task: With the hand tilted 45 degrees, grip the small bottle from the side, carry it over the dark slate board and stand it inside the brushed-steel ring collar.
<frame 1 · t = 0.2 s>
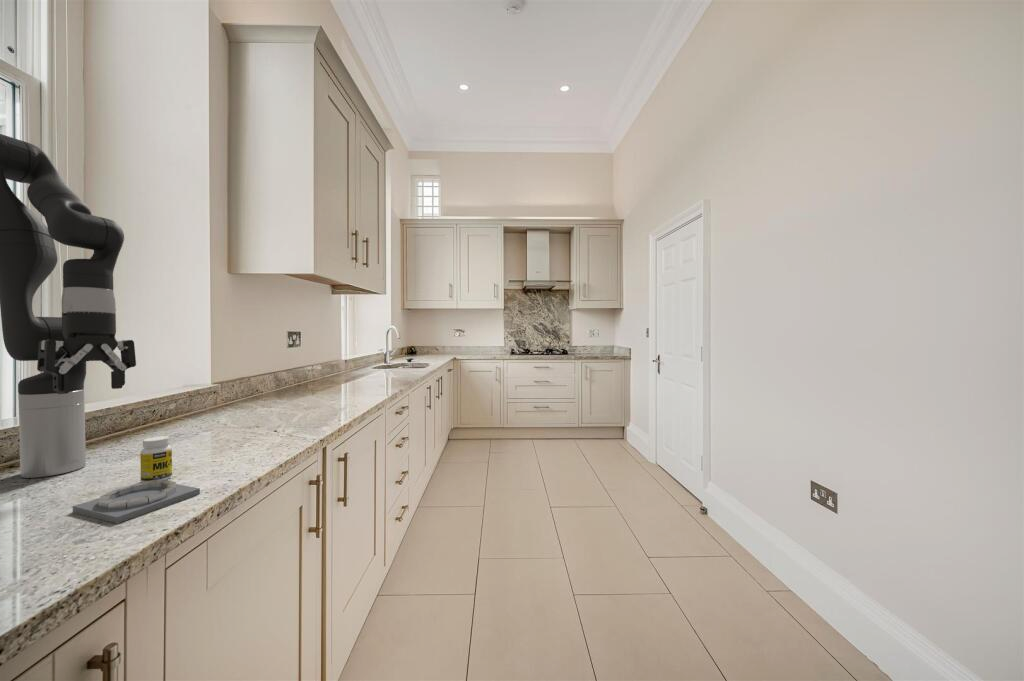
hand: (91, 391, 80), 18 cm above the countertop, tool pointing down, fingers open, 8 cm apart
slate board: (139, 502, 69), on the countertop
supplement bottle: (156, 480, 80), on the countertop
ring collar: (139, 493, 69), on the slate board, point 1 cm above the countertop
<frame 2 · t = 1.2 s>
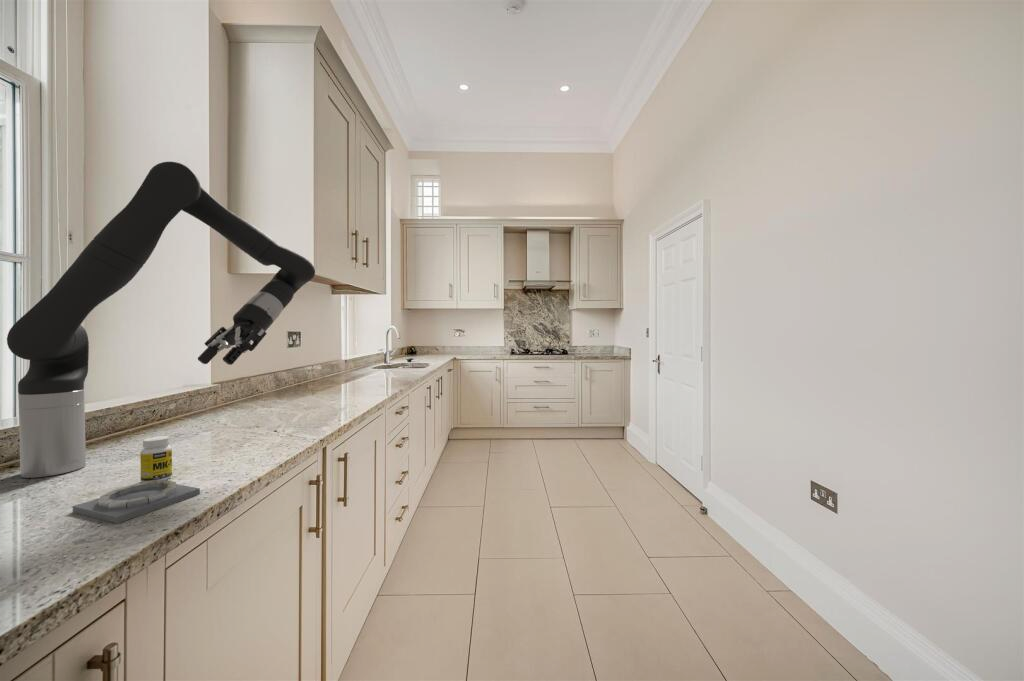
hand: (213, 362, 90), 23 cm above the countertop, tool tilted 45°, fingers open, 8 cm apart
nothing on the countertop moved.
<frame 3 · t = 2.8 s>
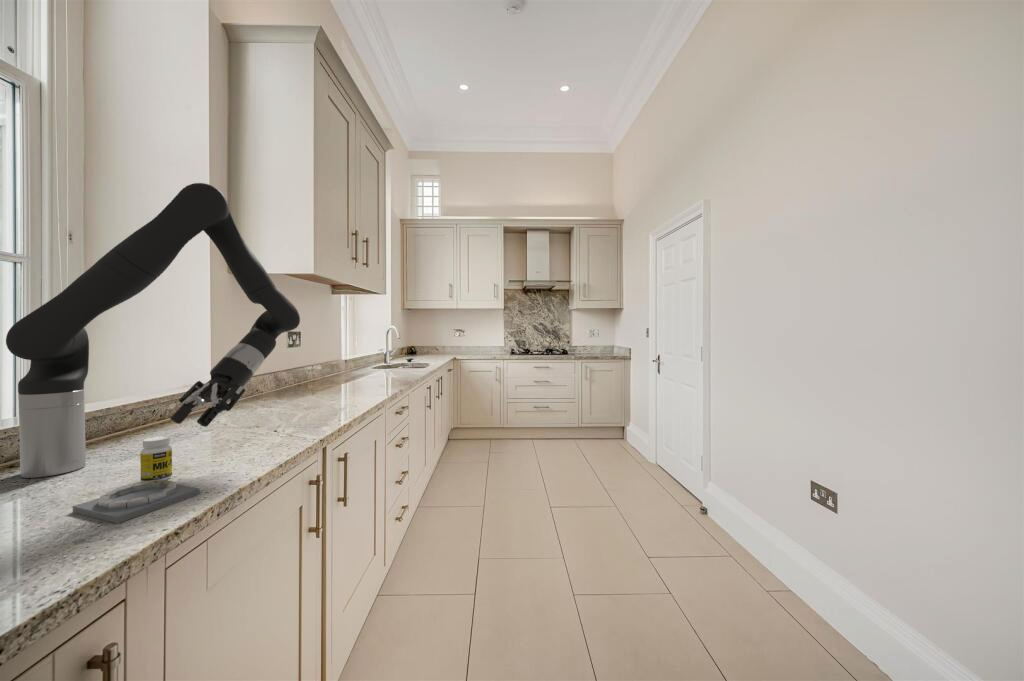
hand: (187, 423, 85), 10 cm above the countertop, tool tilted 45°, fingers open, 8 cm apart
nothing on the countertop moved.
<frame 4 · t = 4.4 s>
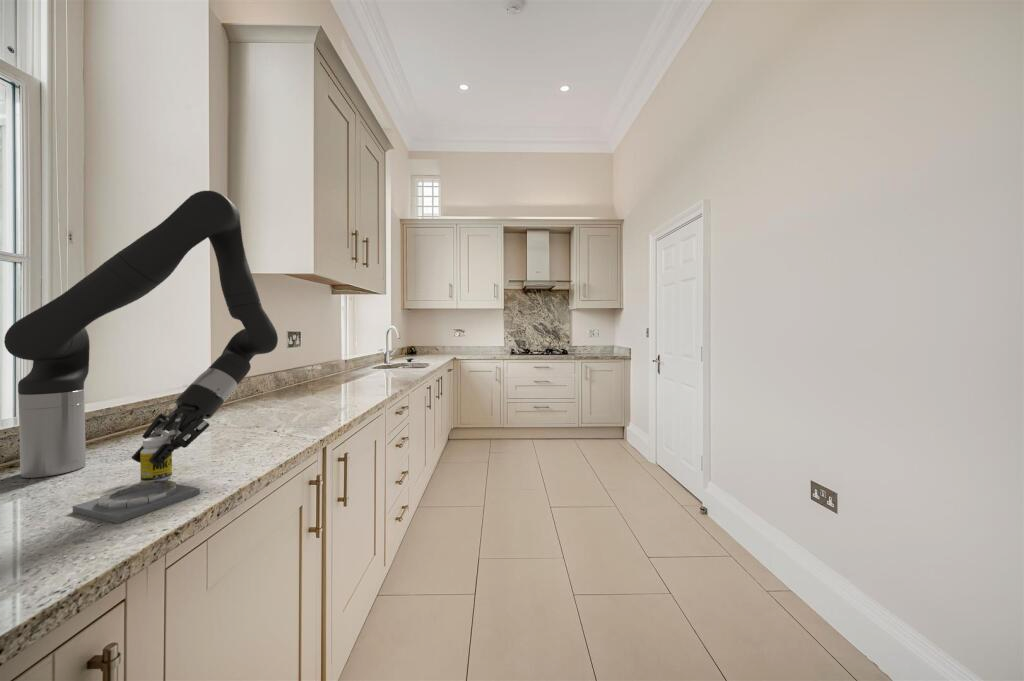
hand: (145, 462, 78), 4 cm above the countertop, tool tilted 45°, fingers closed on supplement bottle, 4 cm apart
supplement bottle: (156, 480, 80), on the countertop, touching gripper
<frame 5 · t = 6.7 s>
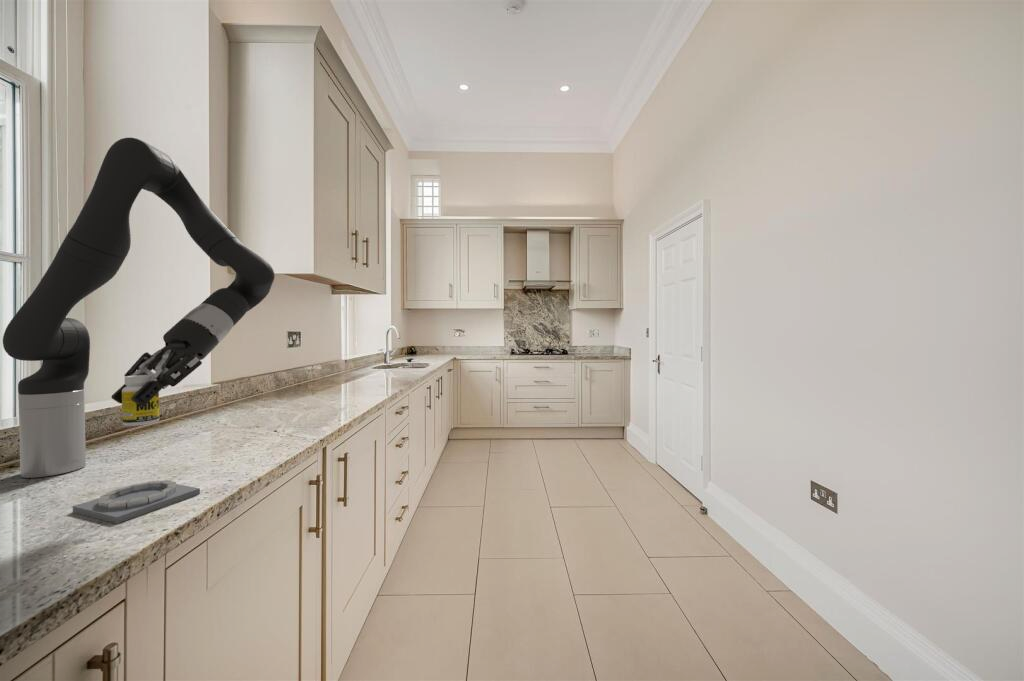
hand: (127, 401, 67), 18 cm above the countertop, tool tilted 45°, fingers closed on supplement bottle, 4 cm apart
supplement bottle: (141, 424, 69), point 14 cm above the countertop, touching gripper
when the fingers open (7 cm above the countertop, at t = 9.2 s): supplement bottle drops 2 cm, resting on slate board.
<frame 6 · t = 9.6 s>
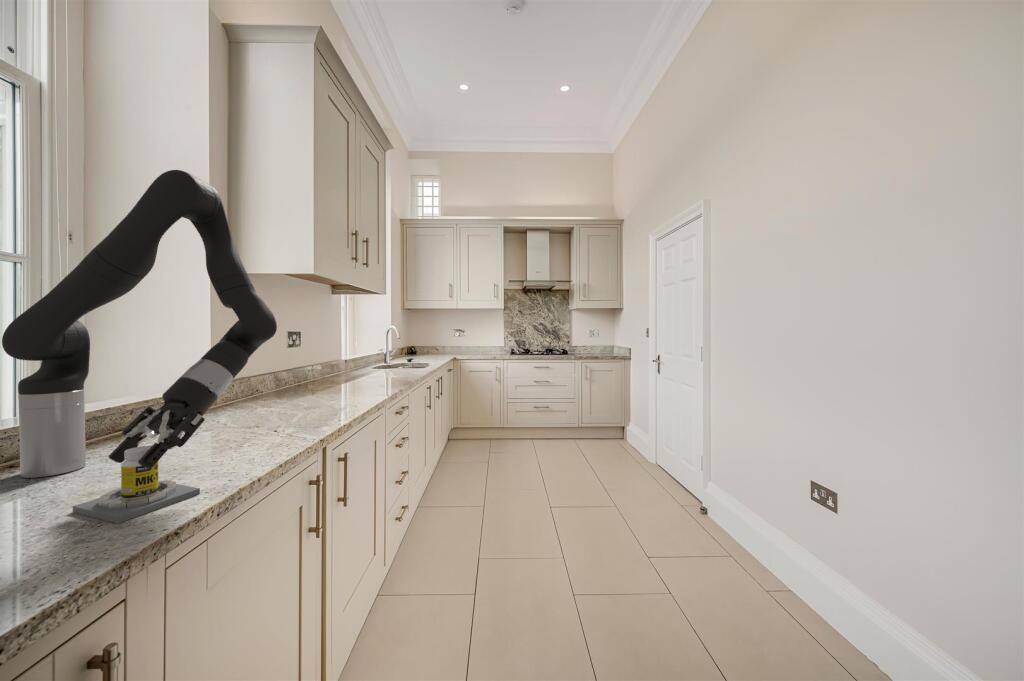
hand: (128, 463, 67), 7 cm above the countertop, tool tilted 45°, fingers open, 8 cm apart
supplement bottle: (140, 497, 69), point 1 cm above the countertop, touching slate board
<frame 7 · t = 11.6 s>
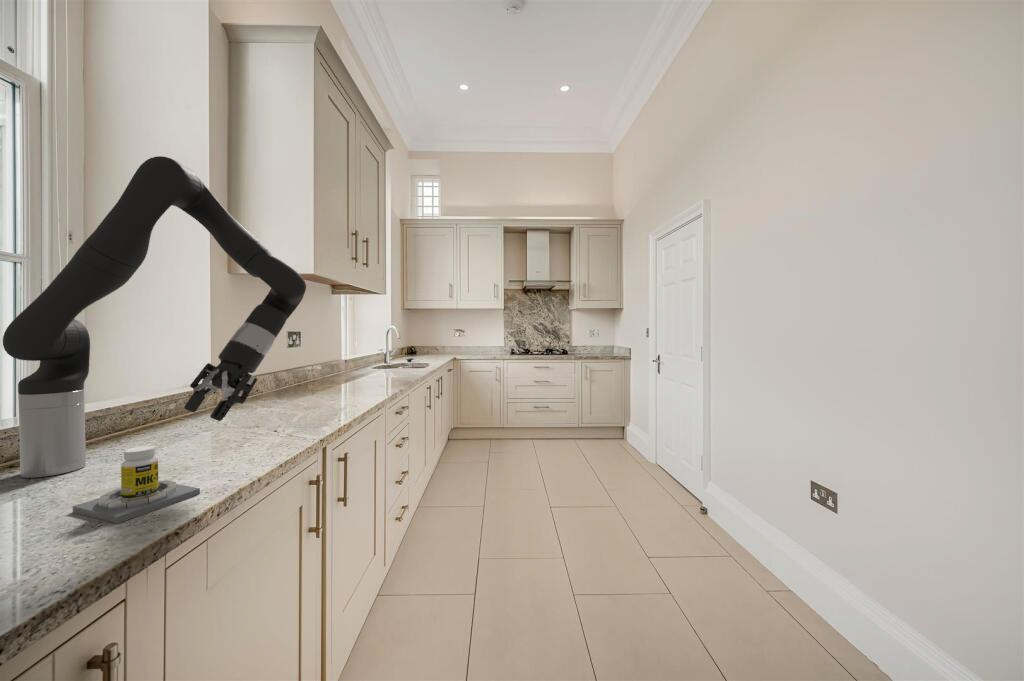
hand: (201, 415, 81), 13 cm above the countertop, tool tilted 35°, fingers open, 8 cm apart
nothing on the countertop moved.
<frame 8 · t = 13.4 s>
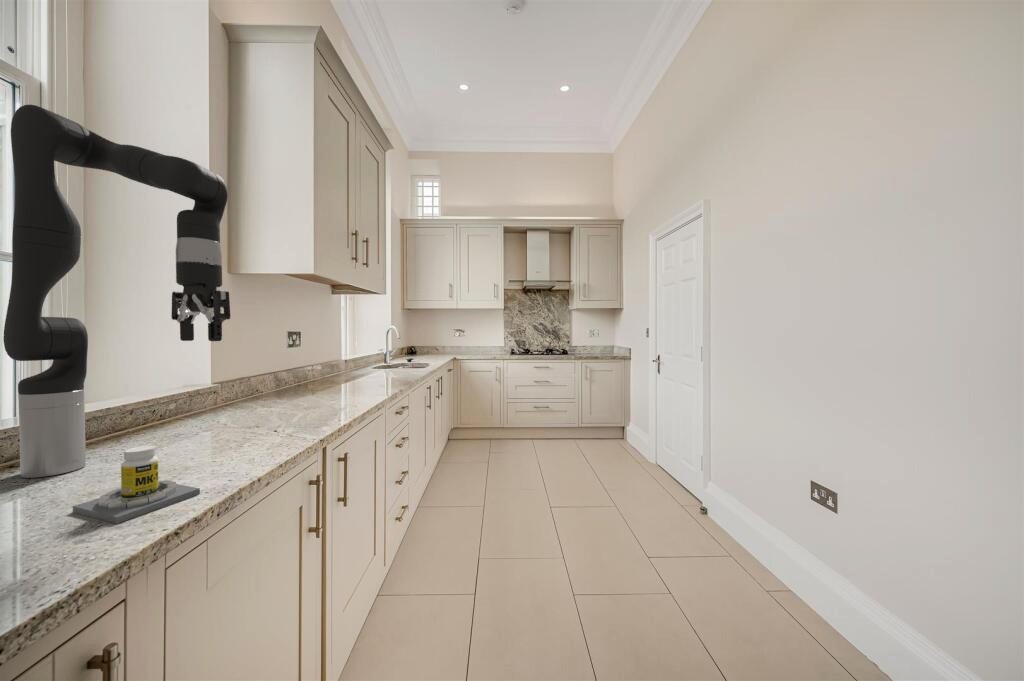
hand: (201, 340, 82), 28 cm above the countertop, tool pointing down, fingers open, 8 cm apart
nothing on the countertop moved.
at the end: supplement bottle 0.3 cm off-centre on the ring collar, point 0.8 cm above the ring collar's base; supplement bottle tilted 0°; the gripper is holding nothing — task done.
